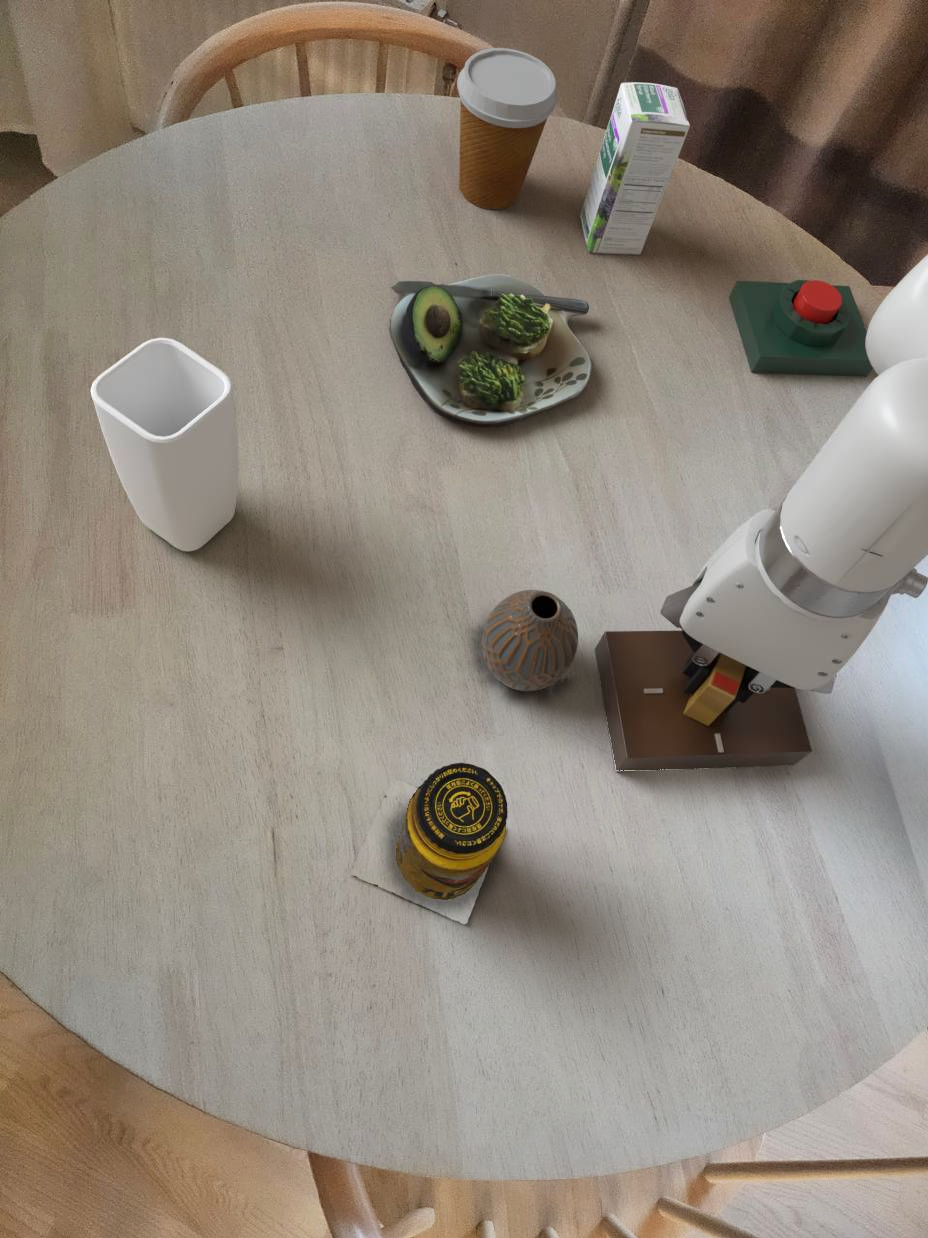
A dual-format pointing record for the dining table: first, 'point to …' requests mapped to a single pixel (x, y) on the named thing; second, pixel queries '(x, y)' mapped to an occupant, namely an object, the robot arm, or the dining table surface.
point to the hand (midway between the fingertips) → (710, 685)
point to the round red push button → (817, 301)
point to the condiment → (451, 830)
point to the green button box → (798, 332)
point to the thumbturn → (716, 690)
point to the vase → (530, 640)
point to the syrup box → (633, 167)
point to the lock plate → (655, 702)
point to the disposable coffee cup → (501, 122)
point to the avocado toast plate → (488, 348)
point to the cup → (172, 439)
